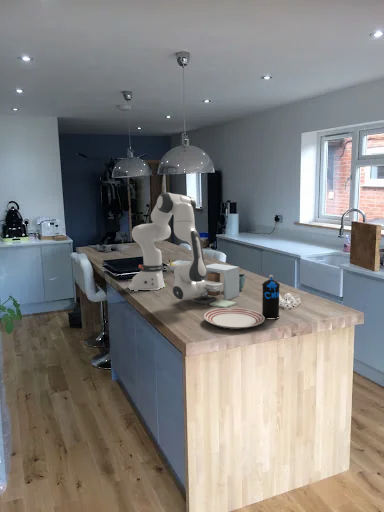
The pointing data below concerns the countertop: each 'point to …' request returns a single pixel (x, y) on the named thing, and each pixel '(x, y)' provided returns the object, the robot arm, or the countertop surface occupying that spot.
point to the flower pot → (241, 281)
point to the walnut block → (215, 278)
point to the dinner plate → (234, 318)
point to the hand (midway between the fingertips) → (214, 282)
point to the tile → (223, 303)
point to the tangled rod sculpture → (291, 299)
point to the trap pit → (204, 299)
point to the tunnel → (226, 279)
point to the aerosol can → (270, 298)
